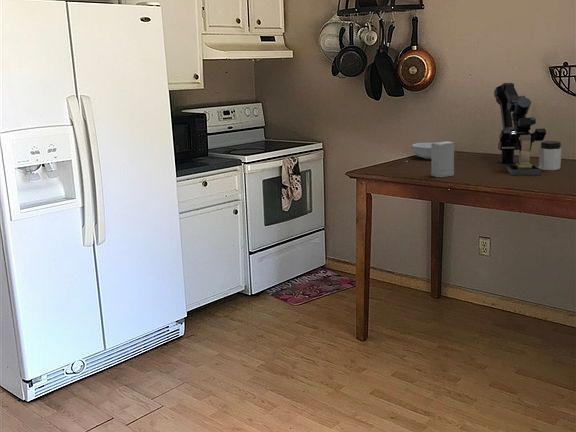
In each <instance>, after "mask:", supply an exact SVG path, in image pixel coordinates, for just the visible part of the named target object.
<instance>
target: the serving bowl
mask: <svg viewBox="0 0 576 432" xmlns="http://www.w3.org/2000/svg"><path fill="white" fill-rule="evenodd" d="M432 143H433V142H418V143H413V144H411V149H412V152H413V153H414V155H415V156H417V157H420V158H423V159H425V160H432Z"/></svg>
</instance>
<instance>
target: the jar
mask: <svg viewBox="0 0 576 432" xmlns="http://www.w3.org/2000/svg"><path fill="white" fill-rule="evenodd" d="M561 147H562V143H561V141H559V140H545V141H544V140H542V141H540V147H539V156H538V159H539V160H538V167H539V168H540V169H541V171H542V170H543V171H557V170H560V169H561V161H562V148H561Z"/></svg>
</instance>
